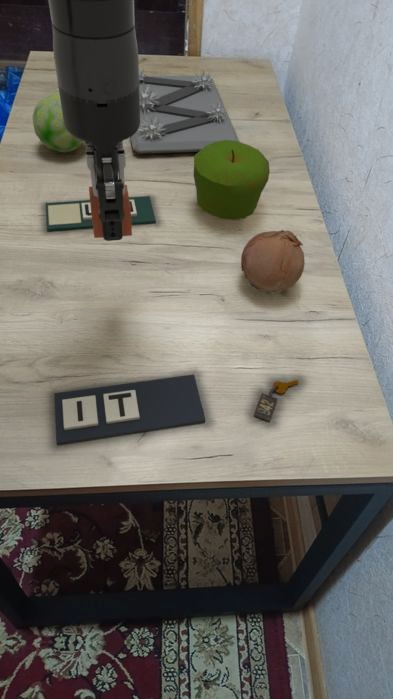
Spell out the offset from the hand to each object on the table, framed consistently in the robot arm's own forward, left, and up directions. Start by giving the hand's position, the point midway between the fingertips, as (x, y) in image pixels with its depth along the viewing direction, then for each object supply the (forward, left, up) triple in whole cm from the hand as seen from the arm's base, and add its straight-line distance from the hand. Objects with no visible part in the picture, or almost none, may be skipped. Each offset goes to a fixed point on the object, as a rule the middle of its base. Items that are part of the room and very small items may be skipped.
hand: (111, 224), depth 59 cm
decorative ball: (-6, +43, -16) cm, 46 cm away
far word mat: (-1, +22, -15) cm, 27 cm away
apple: (+21, +21, -16) cm, 34 cm away
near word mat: (-1, -17, -15) cm, 23 cm away
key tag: (+18, -19, -15) cm, 31 cm away
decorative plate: (+18, +53, -16) cm, 59 cm away
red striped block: (0, 0, 0) cm, 0 cm away
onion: (+23, +2, -16) cm, 28 cm away
